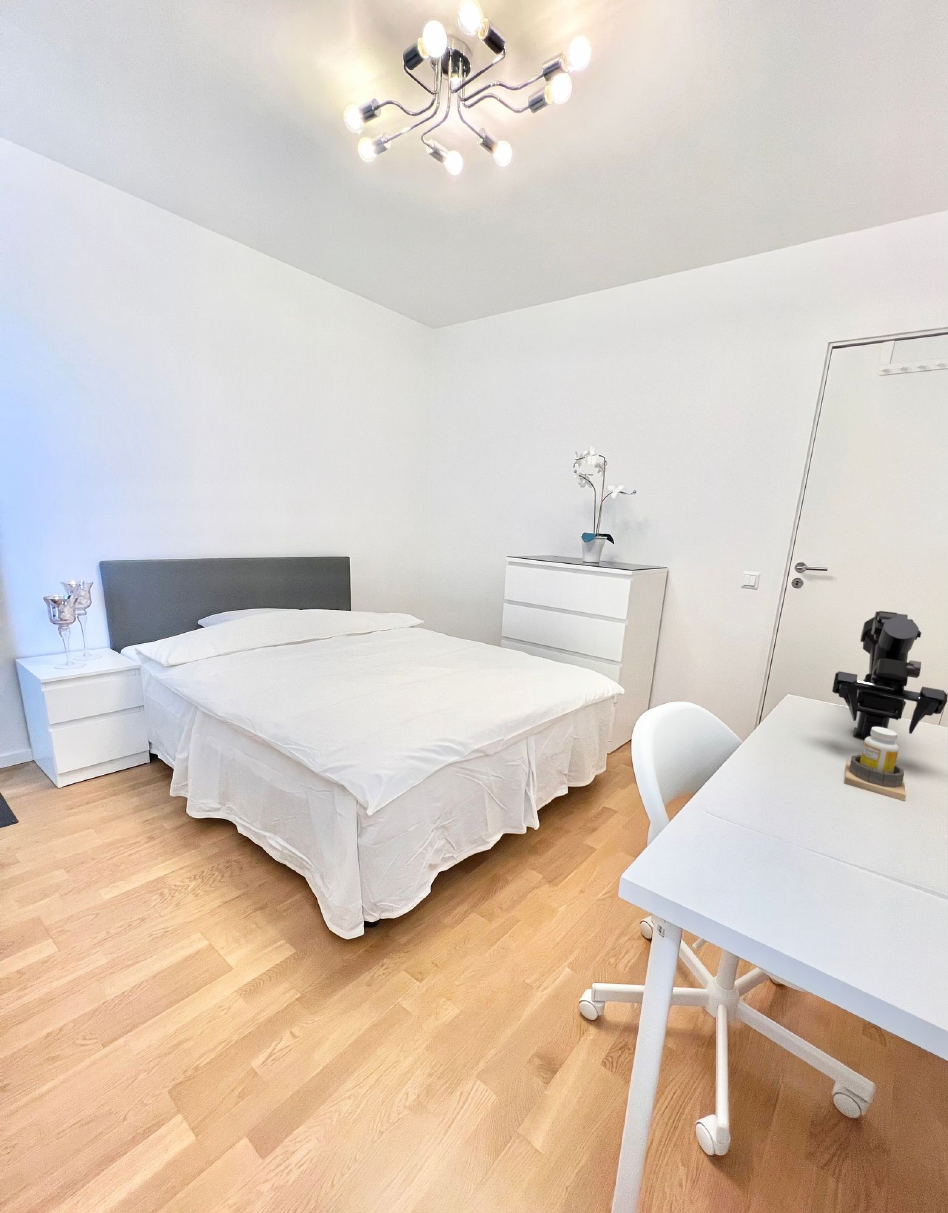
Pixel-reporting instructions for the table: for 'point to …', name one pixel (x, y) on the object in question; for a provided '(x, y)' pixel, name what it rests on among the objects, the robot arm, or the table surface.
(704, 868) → the table surface
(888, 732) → the supplement bottle
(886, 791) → the ring holder
